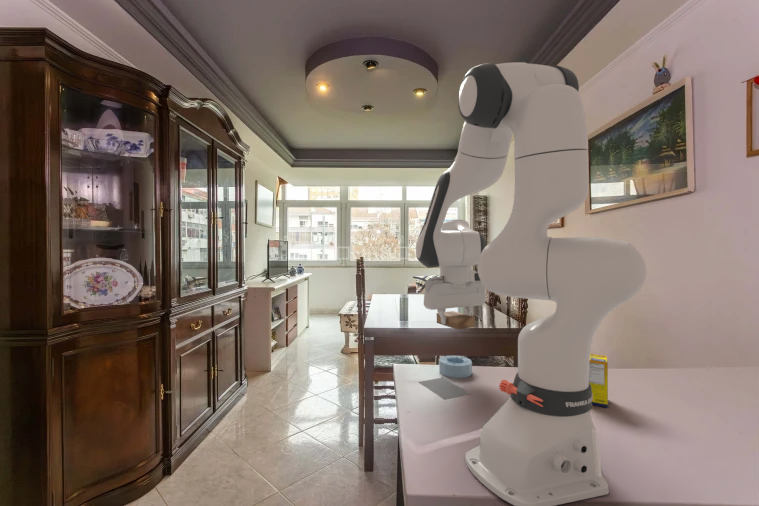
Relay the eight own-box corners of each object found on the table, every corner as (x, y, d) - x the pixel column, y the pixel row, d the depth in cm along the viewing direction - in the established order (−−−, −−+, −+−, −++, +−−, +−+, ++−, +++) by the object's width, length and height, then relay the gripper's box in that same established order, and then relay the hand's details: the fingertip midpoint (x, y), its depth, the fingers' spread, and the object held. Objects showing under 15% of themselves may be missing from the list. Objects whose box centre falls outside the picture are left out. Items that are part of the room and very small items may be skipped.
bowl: (452, 383, 93) (452, 367, 93) (433, 372, 102) (433, 358, 102) (478, 378, 97) (478, 362, 97) (458, 368, 106) (458, 354, 106)
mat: (444, 403, 81) (444, 399, 81) (418, 385, 92) (418, 382, 92) (470, 397, 84) (470, 393, 84) (442, 380, 95) (442, 377, 95)
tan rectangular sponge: (457, 329, 94) (457, 318, 94) (436, 322, 103) (436, 313, 103) (474, 327, 96) (474, 316, 96) (453, 320, 106) (453, 311, 105)
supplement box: (607, 399, 84) (607, 355, 84) (608, 408, 78) (608, 361, 78) (579, 393, 87) (579, 351, 87) (578, 402, 82) (578, 357, 82)
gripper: (431, 277, 92) (431, 328, 92) (489, 275, 101) (489, 321, 101) (419, 276, 98) (419, 323, 98) (474, 273, 107) (474, 317, 107)
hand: (455, 322), depth 100 cm, fingers closed on tan rectangular sponge, 6 cm apart
